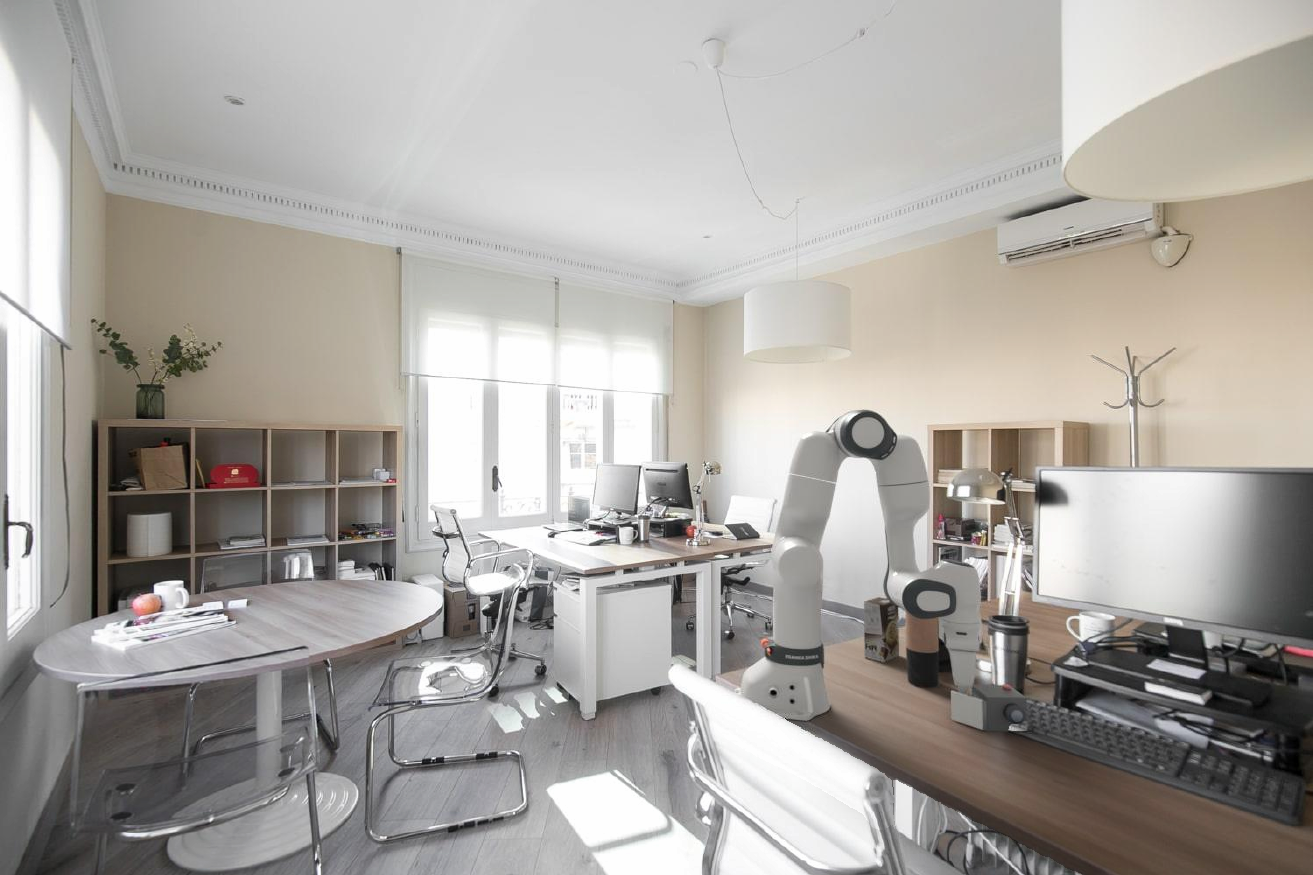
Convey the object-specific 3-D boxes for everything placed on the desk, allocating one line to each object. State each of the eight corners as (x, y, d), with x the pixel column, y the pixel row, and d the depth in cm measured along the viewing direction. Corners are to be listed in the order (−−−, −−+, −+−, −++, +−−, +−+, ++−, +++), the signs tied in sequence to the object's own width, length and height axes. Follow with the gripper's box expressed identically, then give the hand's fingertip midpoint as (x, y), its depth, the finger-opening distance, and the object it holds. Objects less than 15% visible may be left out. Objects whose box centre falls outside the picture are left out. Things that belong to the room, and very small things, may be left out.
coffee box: (885, 663, 168) (884, 604, 169) (863, 657, 173) (862, 601, 174) (900, 656, 174) (899, 599, 175) (879, 650, 179) (878, 596, 180)
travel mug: (910, 687, 150) (908, 606, 151) (903, 676, 158) (902, 599, 159) (943, 689, 149) (941, 607, 150) (934, 678, 156) (933, 600, 157)
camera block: (992, 735, 124) (991, 697, 124) (972, 716, 133) (971, 681, 133) (1033, 736, 123) (1032, 698, 124) (1009, 717, 132) (1009, 682, 133)
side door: (986, 731, 125) (985, 701, 125) (951, 719, 131) (950, 691, 131) (987, 730, 126) (987, 700, 126) (953, 718, 131) (952, 690, 132)
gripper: (942, 619, 148) (944, 676, 147) (946, 642, 129) (948, 708, 129) (971, 621, 145) (973, 680, 145) (979, 646, 127) (981, 712, 126)
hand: (961, 693), depth 137 cm, fingers open, 8 cm apart
